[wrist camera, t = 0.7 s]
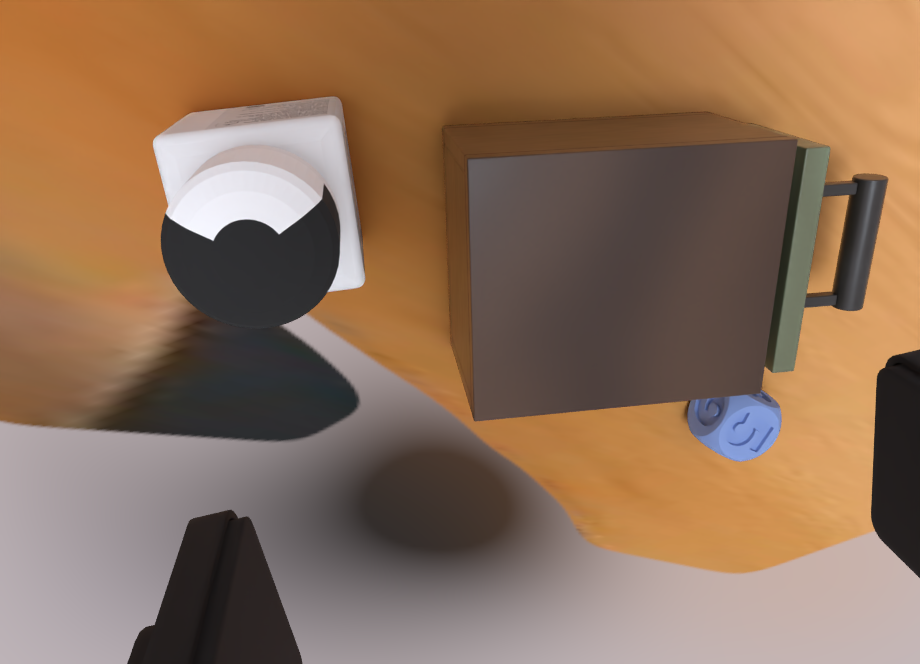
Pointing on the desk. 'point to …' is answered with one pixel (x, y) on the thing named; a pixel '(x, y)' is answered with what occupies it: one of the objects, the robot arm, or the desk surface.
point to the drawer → (801, 240)
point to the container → (260, 210)
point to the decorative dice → (736, 424)
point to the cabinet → (612, 259)
